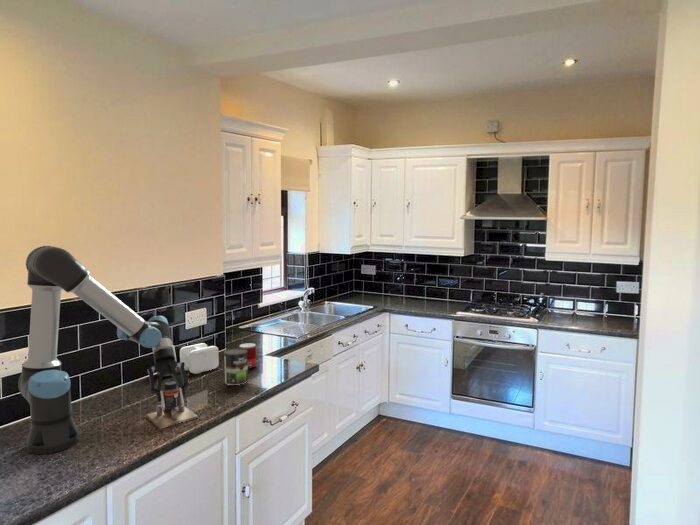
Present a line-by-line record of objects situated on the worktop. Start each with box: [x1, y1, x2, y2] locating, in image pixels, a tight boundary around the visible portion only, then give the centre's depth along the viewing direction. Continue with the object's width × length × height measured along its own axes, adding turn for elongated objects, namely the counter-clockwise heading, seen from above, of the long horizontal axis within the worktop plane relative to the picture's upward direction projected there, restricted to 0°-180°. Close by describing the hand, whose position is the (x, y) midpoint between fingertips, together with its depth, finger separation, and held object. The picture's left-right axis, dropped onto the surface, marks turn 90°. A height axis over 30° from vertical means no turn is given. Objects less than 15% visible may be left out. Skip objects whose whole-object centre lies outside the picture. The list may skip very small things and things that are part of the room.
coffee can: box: [223, 348, 249, 386], centre depth 229 cm, size 10×10×14 cm
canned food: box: [238, 342, 257, 368], centre depth 252 cm, size 8×8×11 cm
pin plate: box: [146, 403, 199, 430], centre depth 190 cm, size 14×14×4 cm
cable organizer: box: [179, 342, 220, 375], centre depth 248 cm, size 15×11×12 cm
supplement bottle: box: [162, 380, 180, 415], centre depth 189 cm, size 6×6×11 cm
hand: (173, 406), depth 187 cm, fingers closed on supplement bottle, 6 cm apart
